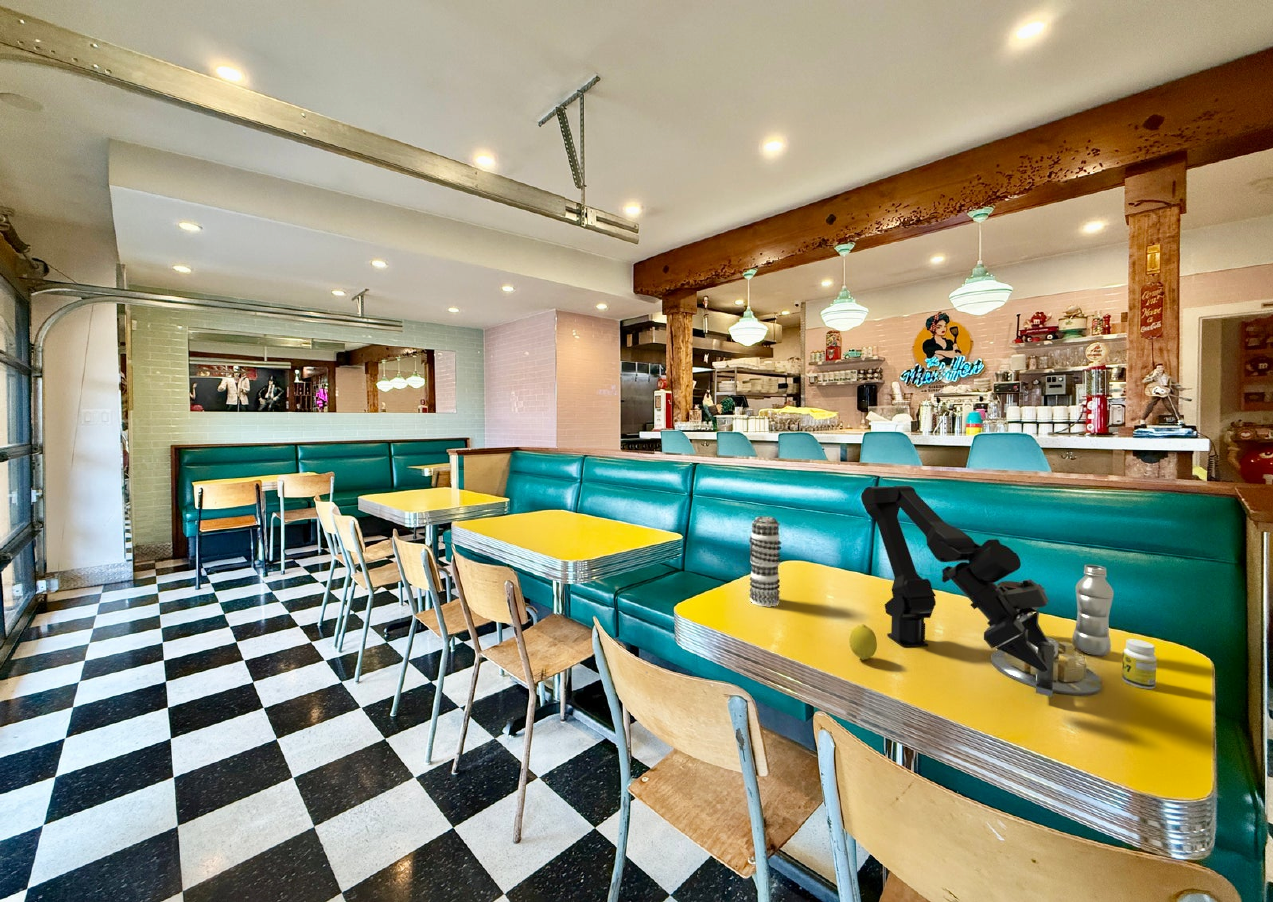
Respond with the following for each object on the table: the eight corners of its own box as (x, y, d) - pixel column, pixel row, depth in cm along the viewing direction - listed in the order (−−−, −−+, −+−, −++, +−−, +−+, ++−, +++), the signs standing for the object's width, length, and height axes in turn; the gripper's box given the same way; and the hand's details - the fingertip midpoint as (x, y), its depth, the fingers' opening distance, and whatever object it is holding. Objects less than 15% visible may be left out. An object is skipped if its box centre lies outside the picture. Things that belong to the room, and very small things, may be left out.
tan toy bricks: (1006, 645, 113) (1008, 605, 113) (1082, 663, 105) (1085, 619, 104) (1000, 684, 96) (1002, 637, 96) (1091, 709, 88) (1093, 657, 87)
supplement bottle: (1118, 675, 103) (1120, 635, 102) (1149, 681, 101) (1151, 640, 100) (1126, 685, 99) (1128, 644, 98) (1159, 692, 96) (1161, 650, 96)
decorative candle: (744, 603, 144) (744, 518, 143) (754, 594, 152) (755, 514, 151) (775, 609, 139) (776, 522, 138) (784, 599, 147) (785, 516, 146)
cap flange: (1043, 697, 94) (1045, 662, 94) (970, 654, 112) (972, 624, 112) (1127, 692, 96) (1129, 657, 96) (1043, 650, 114) (1044, 621, 114)
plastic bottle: (1100, 648, 115) (1104, 564, 114) (1117, 661, 109) (1122, 572, 108) (1066, 644, 117) (1070, 561, 116) (1081, 657, 111) (1085, 569, 110)
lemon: (874, 668, 106) (875, 631, 105) (847, 661, 109) (848, 626, 108) (877, 657, 111) (878, 623, 110) (851, 651, 113) (852, 617, 113)
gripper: (1007, 578, 89) (1087, 659, 82) (1026, 559, 102) (1096, 627, 94) (955, 609, 95) (1025, 687, 88) (979, 588, 108) (1042, 654, 100)
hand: (1049, 662), depth 92 cm, fingers open, 9 cm apart
